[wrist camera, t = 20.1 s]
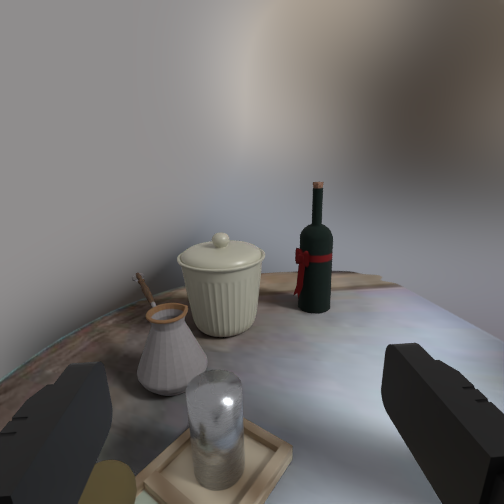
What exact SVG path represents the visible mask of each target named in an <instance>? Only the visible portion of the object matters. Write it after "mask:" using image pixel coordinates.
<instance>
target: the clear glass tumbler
mask: <svg viewBox="0 0 504 504" xmlns="http://www.w3.org/2000/svg"><path fill="white" fill-rule="evenodd" d="M186 400H187V410H188V419H189V429H190V438H191V448H192V458H193V467H194V475H195V478H196V480H197V481H198V483H199V484H200V485H201V486H202V487H204V488H206V489H208V490H212V491H221V490H225V489H228V488H230V487H232V486H233V485H234V484H236V483H237V482H238V481H239V479H240V478H241V477H242V475H243V472H244V469H245V451H244V427H243V402H242V384H241V381H240V379H239V378H238V377H237V376H236V375H235V374H233V373H231V372H229V371H225V370H210V371H206V372H203V373H201V374H199V375H197V376H196V377H194V378H193V379H192V380H191V381H190V382H189V384H188V385H187V388H186Z"/></svg>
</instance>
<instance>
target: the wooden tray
mask: <svg viewBox="0 0 504 504" xmlns="http://www.w3.org/2000/svg"><path fill="white" fill-rule="evenodd" d="M243 427H244V451H245V469H244V472H243V475H242V477H241V478H240V479H239V481H238V482H237V483H236V484H234V485H233V486H232V487H230V488H228V489H225V490H221V491H212V490H208V489H206V488H204V487H202V486H201V485H200V484H199V483H198V481H197V480H196V478H195V475H194V467H193V458H192V448H191V438H190V429H189V428H188V429H187V430H186V431H185V432H184V433H183V434H182V435H180V436H179V437H178V438H177V439H176V440H175V441H174V442H173V443H172V444H171V445H170V446H168V447H167V448H166V449H165V450H164V451H163V452H162V453H161V454H160V455H159V456H157V457H156V458H155V459H154V460H153V461H152V462H151V463H150V464H149V465H148V466H147V467H145V468H144V469H143V470H142V471H141V472H140V473H139V474H138V475H137V476H136V477H135V479H136V487H137V493H136V499H135V504H264V502H265V501H266V499H267V498H268V496H269V495H270V493H271V492H272V490H273V489H274V487H275V485H276V484H277V482H278V481H279V479H280V478H281V476H282V475H283V473H284V472H285V470H286V469H287V467H288V465H289V464H290V462H291V461H292V450H293V446H292V445H290V444H289V443H287V442H285V441H283V440H282V439H280V438H278V437H276V436H275V435H273V434H271V433H269V432H268V431H266V430H264V429H262V428H261V427H259V426H257V425H255V424H254V423H252V422H250V421H248V420H247V419H245V418H243Z"/></svg>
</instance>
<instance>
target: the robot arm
mask: <svg viewBox="0 0 504 504" xmlns="http://www.w3.org/2000/svg"><path fill="white" fill-rule="evenodd" d="M381 395H382V401H383V404H384V407H385V410H386V412H387V414H388V415H389V417H390V419H391V420H392V422H393V424H394V425H395V427H396V428H397V430H398V432H399V433H400V435H401V437H402V438H403V440H404V442H405V443H406V445H407V446H408V448H409V450H410V451H411V453H412V455H413V456H414V458H415V460H416V461H417V463H418V464H419V466H420V468H421V469H422V471H423V473H424V474H425V476H426V478H427V479H428V481H429V482H430V484H431V486H432V487H433V489H434V491H435V492H436V494H437V496H438V497H439V499H440V501H441V502H442V504H504V414H503V413H502V412H501V411H500V410H499V409H498V408H497V407H496V406H495V405H494V404H493V403H492V402H488V399H487V398H486V397H485V396H484V395H483V394H482V393H481V392H480V391H479V390H478V389H475V388H474V385H473V384H472V383H470V382H469V381H468V380H467V379H466V378H465V377H464V376H463V375H462V374H461V373H460V372H459V371H457V370H455V369H454V368H452V367H450V366H448V365H447V364H445V363H443V362H442V361H440V360H434V359H433V358H432V357H431V356H430V355H429V354H428V353H427V352H426V351H425V350H424V349H423V348H422V347H421V346H420V345H419V344H417V343H405V344H390V345H388V346H387V348H386V352H385V360H384V369H383V377H382V386H381ZM111 422H112V403H111V398H110V393H109V388H108V382H107V377H106V372H105V367H104V365H103V363H102V362H87V363H72V364H70V365H68V367H67V368H66V369H65V370H64V372H63V373H62V374H61V375H60V377H59V378H58V379H57V381H56V382H55V383H54V384H50V385H46V386H45V387H44V388H42V389H41V390H40V391H38V392H37V393H36V394H34V395H33V396H32V397H30V398H29V399H28V400H27V401H26V402H25V403H24V404H23V405H22V407H21V408H20V409H19V410H18V411H17V413H16V414H15V415H14V416H13V417H12V421H9V422H8V423H7V425H6V426H5V427H4V428H3V429H2V431H1V432H0V504H78V502H79V500H80V497H81V495H82V493H83V490H84V488H85V486H86V484H87V481H88V479H89V477H90V474H91V472H92V470H93V468H94V465H95V463H96V461H97V458H98V456H99V454H100V452H101V449H102V447H103V445H104V442H105V440H106V438H107V436H108V433H109V430H110V427H111Z"/></svg>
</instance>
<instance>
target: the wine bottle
mask: <svg viewBox="0 0 504 504" xmlns="http://www.w3.org/2000/svg"><path fill="white" fill-rule="evenodd" d="M322 187H323V182H313V205H312V224H311V225H308V226H307V227H305V228H304V229H303V231H302V232H301V234H300V249H299V248H296V257H295V261H296V264H299V268H298V277H297V286H296V289H295V292H294V295H295V294H296V293H297V294H298V297H299V298H298V307H299V308H300V309H301V310H302V311H305V312H308V313H323V312H326V311H328V310H329V309H330V295H331V272H332V249H333V236H332V234H331V231H330V230H329V228H327V227H326V226H325V225H323V224H321V223H322V199H323V188H322ZM294 295H293V296H294Z"/></svg>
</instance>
